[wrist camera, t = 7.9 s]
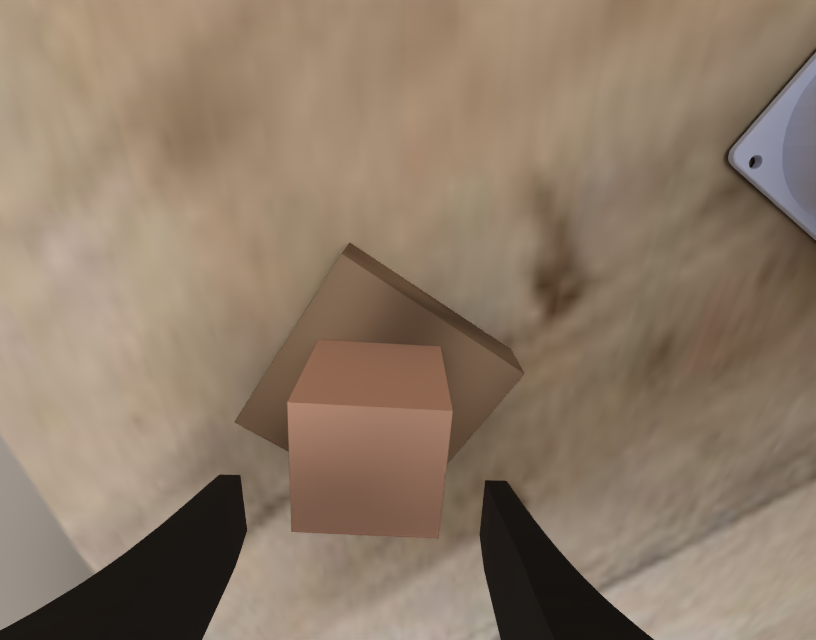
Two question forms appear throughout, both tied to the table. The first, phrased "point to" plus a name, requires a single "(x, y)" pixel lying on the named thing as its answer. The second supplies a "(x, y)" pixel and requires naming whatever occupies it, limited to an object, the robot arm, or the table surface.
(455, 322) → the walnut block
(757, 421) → the table surface
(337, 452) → the terracotta cube
